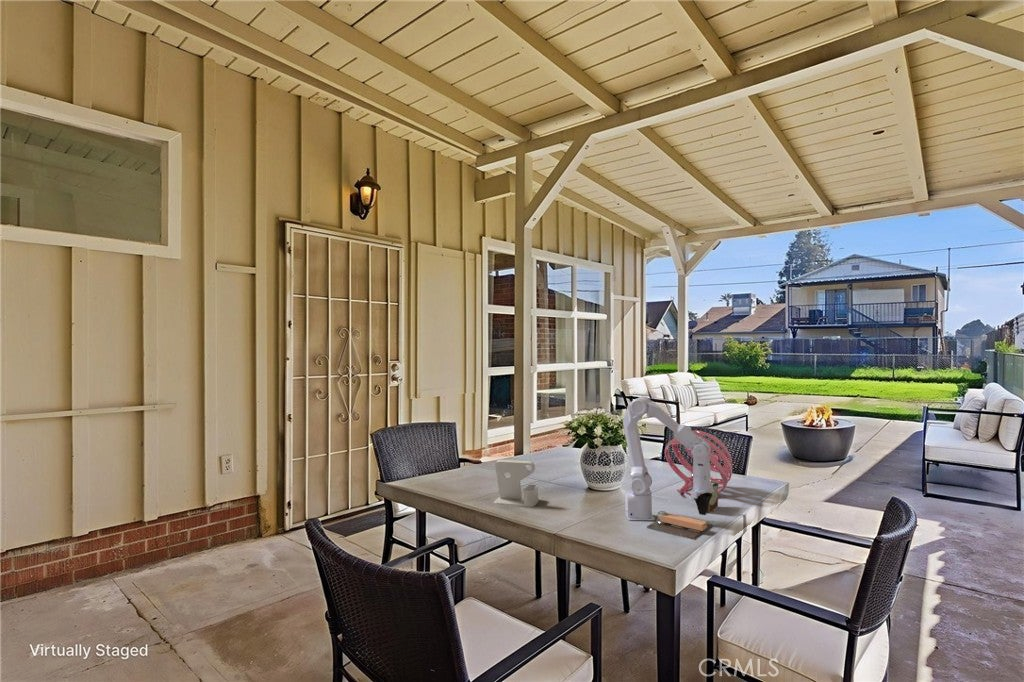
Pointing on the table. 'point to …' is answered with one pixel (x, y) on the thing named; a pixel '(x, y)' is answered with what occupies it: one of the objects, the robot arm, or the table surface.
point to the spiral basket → (716, 467)
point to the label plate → (677, 529)
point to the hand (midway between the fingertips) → (702, 514)
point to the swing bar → (682, 521)
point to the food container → (713, 497)
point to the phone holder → (515, 483)
